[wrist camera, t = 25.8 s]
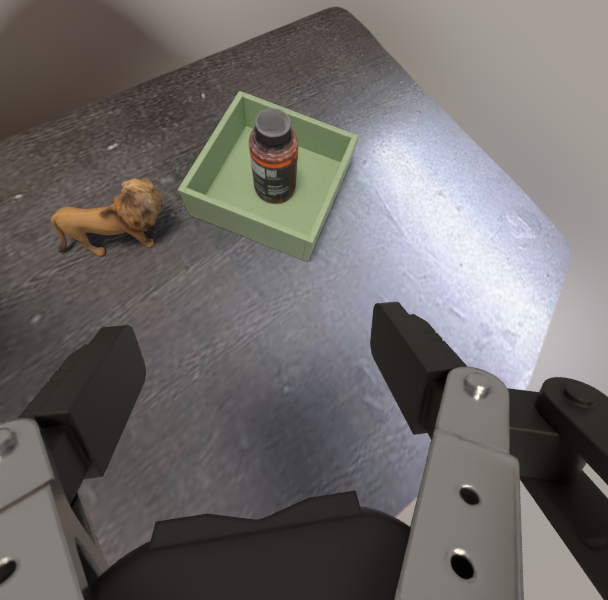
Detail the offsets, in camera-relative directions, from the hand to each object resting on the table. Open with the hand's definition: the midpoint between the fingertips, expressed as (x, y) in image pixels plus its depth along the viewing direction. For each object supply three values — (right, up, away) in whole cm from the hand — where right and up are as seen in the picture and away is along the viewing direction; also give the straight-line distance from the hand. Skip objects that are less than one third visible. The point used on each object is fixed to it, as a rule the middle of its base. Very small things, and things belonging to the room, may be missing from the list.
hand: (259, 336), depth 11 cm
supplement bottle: (-3, +17, +35) cm, 39 cm away
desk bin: (-3, +17, +35) cm, 39 cm away
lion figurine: (-22, +10, +31) cm, 40 cm away
